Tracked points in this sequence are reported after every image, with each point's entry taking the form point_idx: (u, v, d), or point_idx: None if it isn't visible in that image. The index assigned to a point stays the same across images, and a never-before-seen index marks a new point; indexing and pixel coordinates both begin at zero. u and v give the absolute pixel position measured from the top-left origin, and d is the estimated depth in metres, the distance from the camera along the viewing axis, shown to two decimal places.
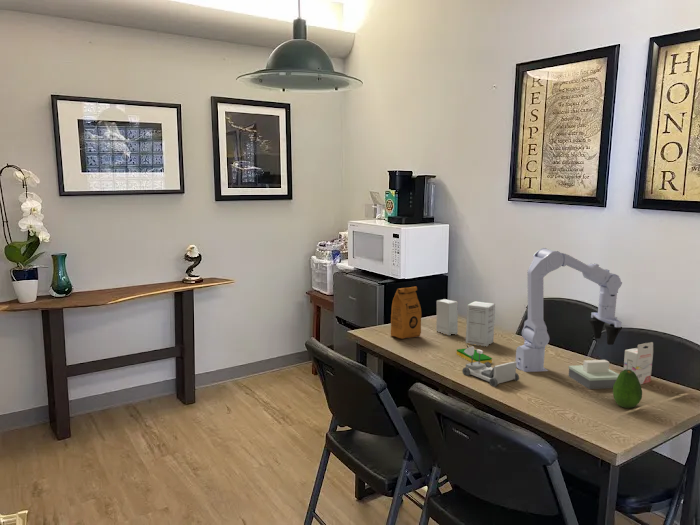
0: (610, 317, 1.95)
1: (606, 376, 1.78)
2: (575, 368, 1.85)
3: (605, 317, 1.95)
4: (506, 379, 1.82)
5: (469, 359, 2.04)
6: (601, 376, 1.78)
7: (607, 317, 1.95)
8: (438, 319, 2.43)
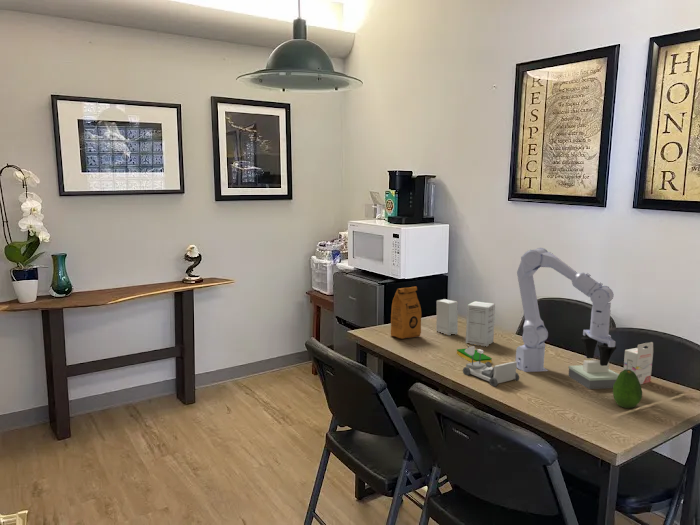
0: (603, 336, 1.78)
1: (606, 376, 1.78)
2: (575, 368, 1.85)
3: (598, 336, 1.79)
4: (506, 379, 1.82)
5: (469, 359, 2.04)
6: (601, 376, 1.78)
7: (600, 336, 1.79)
8: (438, 319, 2.43)
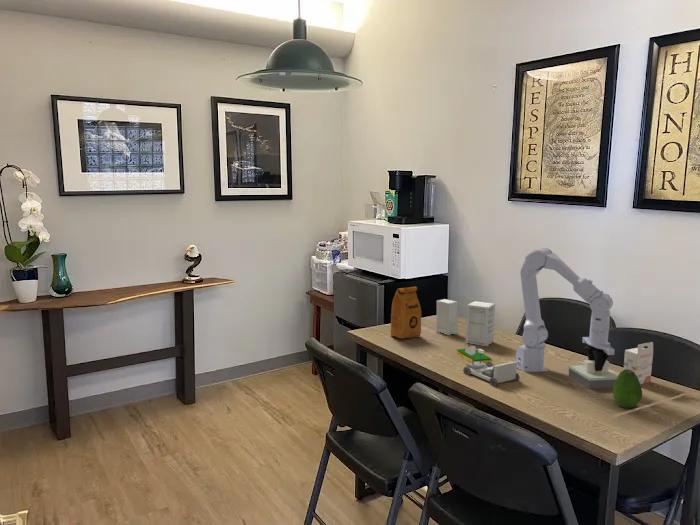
0: (602, 343, 1.79)
1: (606, 376, 1.78)
2: (575, 368, 1.85)
3: (597, 343, 1.79)
4: (506, 379, 1.82)
5: (468, 359, 2.04)
6: (601, 376, 1.78)
7: (599, 343, 1.79)
8: (438, 319, 2.43)
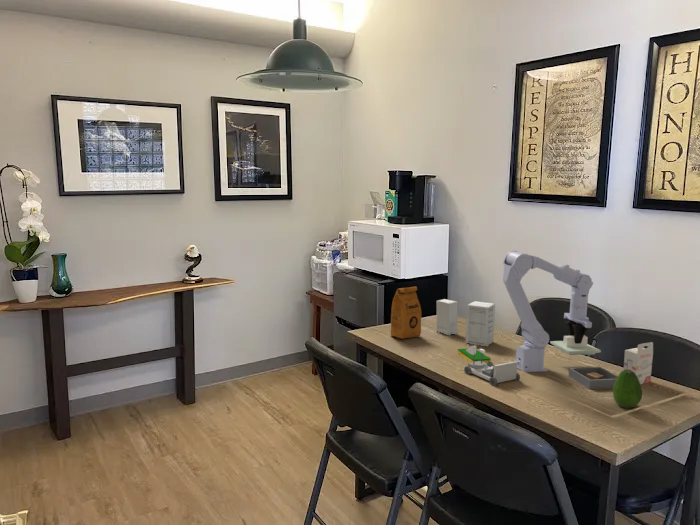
0: (581, 318, 1.93)
1: (584, 349, 1.93)
2: (556, 343, 2.00)
3: (576, 318, 1.94)
4: (507, 378, 1.83)
5: (468, 359, 2.04)
6: (579, 349, 1.93)
7: (578, 318, 1.94)
8: (438, 319, 2.43)
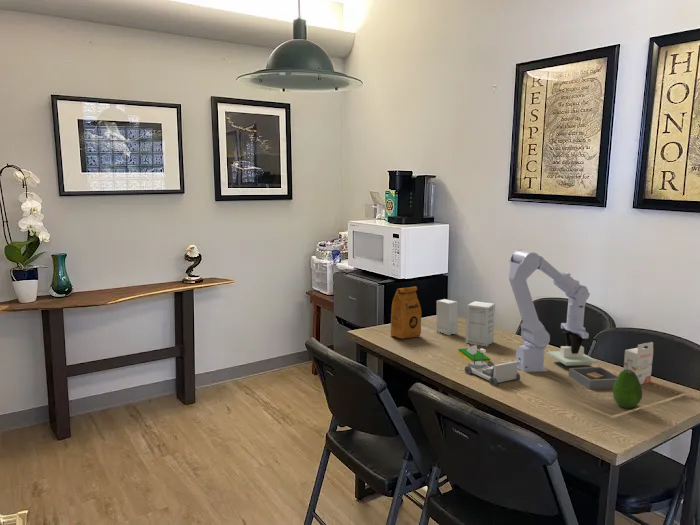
0: (578, 328, 1.96)
1: (581, 360, 1.95)
2: (553, 353, 2.02)
3: (573, 328, 1.96)
4: (507, 378, 1.83)
5: (467, 359, 2.05)
6: (576, 360, 1.95)
7: (575, 328, 1.96)
8: (438, 319, 2.43)
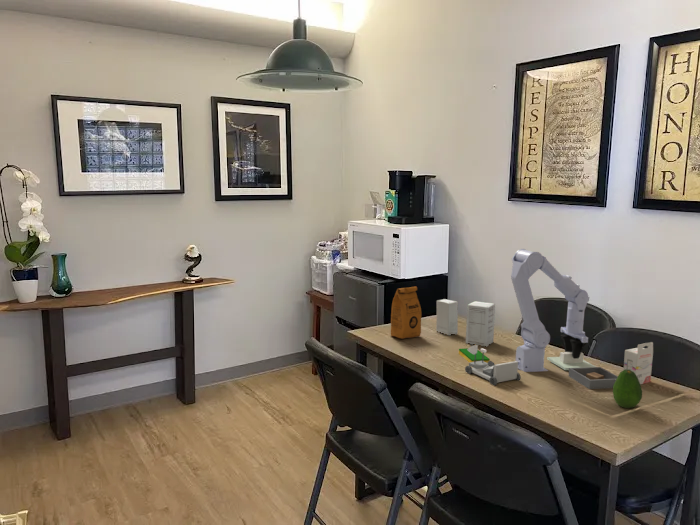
0: (578, 332, 1.96)
1: (580, 366, 1.95)
2: (553, 359, 2.03)
3: (573, 332, 1.96)
4: (507, 378, 1.83)
5: (467, 359, 2.05)
6: (575, 366, 1.95)
7: (575, 332, 1.96)
8: (438, 319, 2.43)
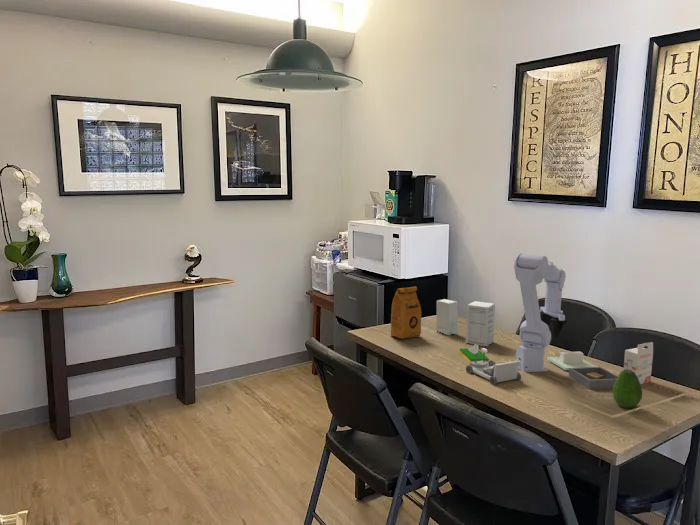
0: (555, 311, 2.03)
1: (580, 366, 1.95)
2: (553, 359, 2.03)
3: (551, 311, 2.04)
4: (507, 378, 1.83)
5: (466, 358, 2.05)
6: (575, 366, 1.95)
7: (552, 311, 2.03)
8: (438, 319, 2.43)
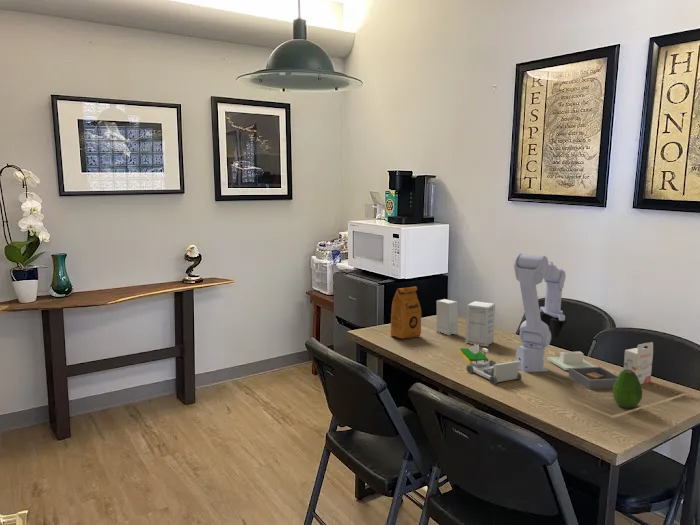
0: (555, 311, 2.03)
1: (580, 366, 1.95)
2: (553, 359, 2.03)
3: (551, 311, 2.04)
4: (507, 378, 1.83)
5: (466, 358, 2.05)
6: (575, 366, 1.95)
7: (552, 311, 2.03)
8: (438, 319, 2.43)
